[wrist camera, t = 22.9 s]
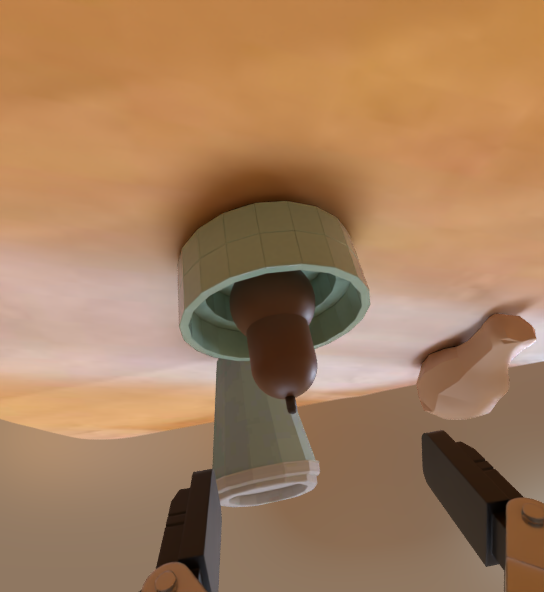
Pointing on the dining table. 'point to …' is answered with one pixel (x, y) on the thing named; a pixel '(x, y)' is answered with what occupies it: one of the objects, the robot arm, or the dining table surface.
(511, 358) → the squash
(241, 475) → the disposable coffee cup
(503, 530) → the robot arm
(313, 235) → the bowl
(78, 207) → the dining table surface
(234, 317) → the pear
